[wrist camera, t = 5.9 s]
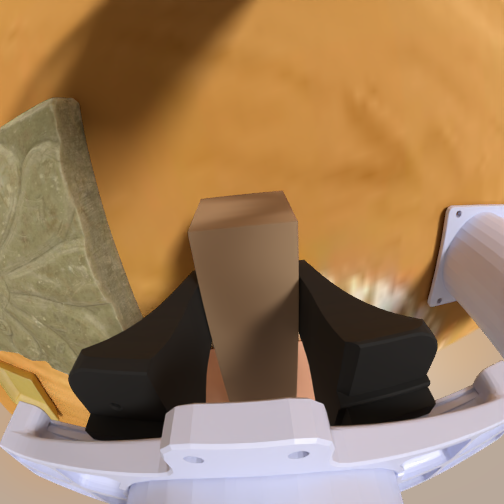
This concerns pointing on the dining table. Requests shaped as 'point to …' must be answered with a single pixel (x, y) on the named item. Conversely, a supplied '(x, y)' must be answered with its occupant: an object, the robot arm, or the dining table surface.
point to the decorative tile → (56, 242)
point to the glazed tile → (218, 390)
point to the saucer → (25, 388)
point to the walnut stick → (250, 291)
